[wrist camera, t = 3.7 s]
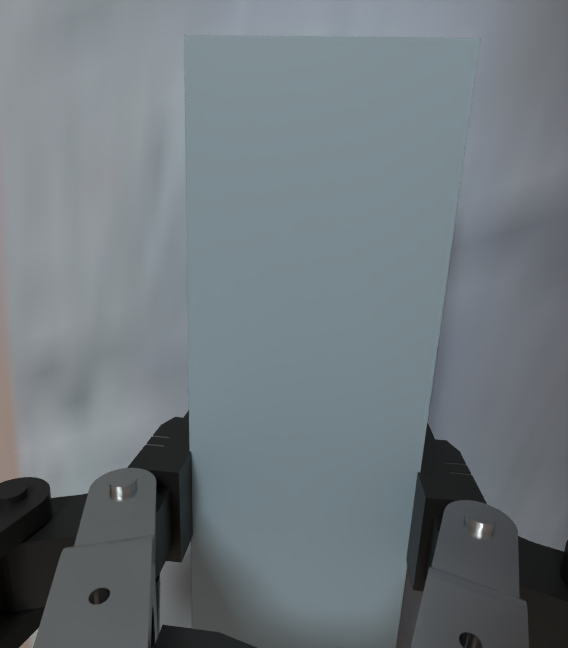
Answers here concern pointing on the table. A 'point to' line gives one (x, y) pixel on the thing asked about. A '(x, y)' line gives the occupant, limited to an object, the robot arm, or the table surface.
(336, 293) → the grey rectangular block
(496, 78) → the table surface
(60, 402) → the table surface
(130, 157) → the table surface
